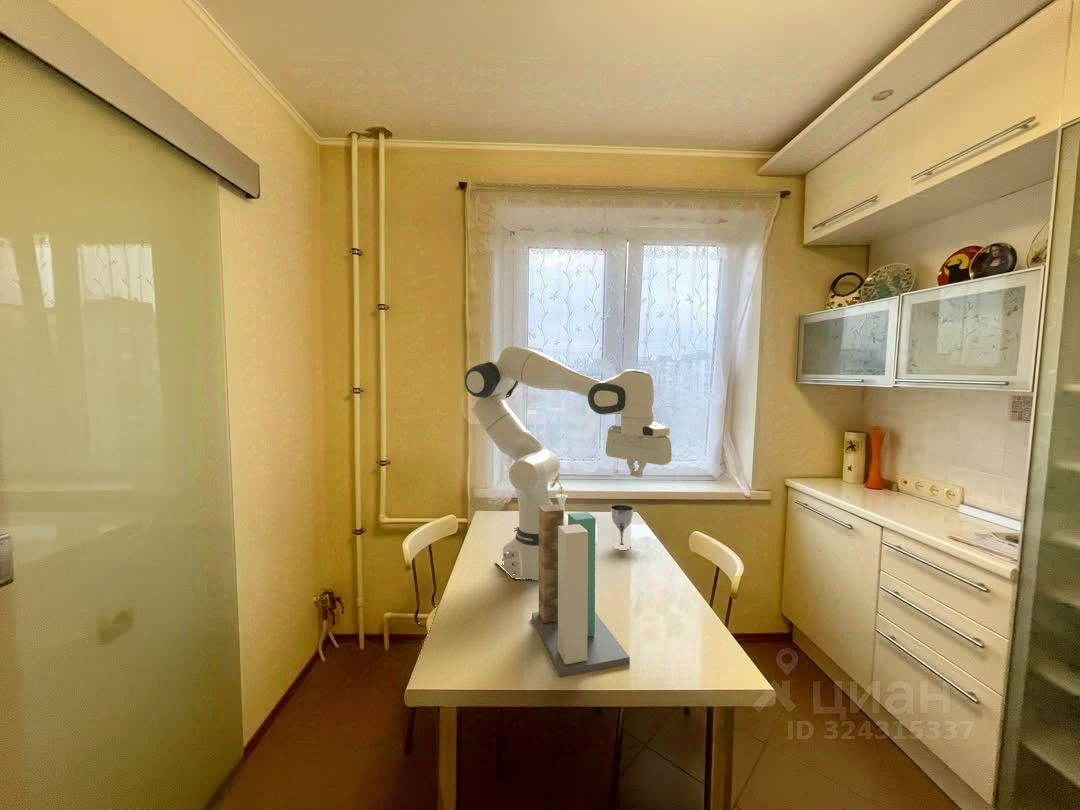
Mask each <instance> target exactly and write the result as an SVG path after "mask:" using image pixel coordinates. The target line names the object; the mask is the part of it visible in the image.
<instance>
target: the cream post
mask: <svg viewBox="0 0 1080 810" xmlns="http://www.w3.org/2000/svg"><path fill="white" fill-rule="evenodd" d="M587 630H588V531H587V530H586V529H585V528H584V527H582V526H581V525H580V524H575V525H564V526H558V652H559V654H560V655H561V657H562V659H563V661H564V663H565V665H566V664H571V663H576V662H582V661H587Z"/></svg>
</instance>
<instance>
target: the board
mask: <svg viewBox="0 0 1080 810" xmlns="http://www.w3.org/2000/svg"><path fill="white" fill-rule="evenodd" d="M531 619H533V620H532V621H533V624H534V626H535V628H536V630H537V632H538V635H539V636H540V638H541V641H542V643H543V644H544V647H545V649H546V651H547V653H548V656H549V657H550V660H551V662H552V664H553V666H554V668H555V670H556V673H557V675H558V677H559V678H563V677H569V676H574V675H579V674H583V673H589V672H594V671H600V670H605V669H609V668H614V667H620V666H625V665H630V664H631V662H630V661H631V657H630V655H629V654H628V653H627V651H625V648H623V646H622V645H621V644H620V642H619V641H618V640H617V639H616V637H615V636H614V634H613V633H612V632H611V631H610V629H609V628H608V627H607V625H606V624H605V622H603V621H602V619H601V617H600V616H599V615H598V614H597V612H595V635H594V636H588V637H587V661H582V662H576V663H571V664H566V665H565V663H564V661H563V659H562V657H561V655H560V654H559V652H558V621H557V622H551V623H544V622H543V621H542V619H541V617H540V615H539V611H537V612H536V611H535V612H532V613H531Z"/></svg>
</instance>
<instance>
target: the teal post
mask: <svg viewBox="0 0 1080 810" xmlns="http://www.w3.org/2000/svg"><path fill="white" fill-rule="evenodd" d="M567 516H568V525H575V524H580V525H581V526H582V527H584V528H585V529H586V530H587V531H588V630H587V637H588V636H594V635H595V613H596V521H597V520H596V516H593V515H592V514H591V513H590V512H588V511H584V512H572V513H571V512H569V513H567Z"/></svg>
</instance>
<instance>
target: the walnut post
mask: <svg viewBox="0 0 1080 810" xmlns="http://www.w3.org/2000/svg"><path fill="white" fill-rule="evenodd" d="M564 511H565V509H564V510H563V509H562V508H561V507H559V504H553V505H546V506H539V580H538V612H539V615H540V617H541V619H542V621H543V622H544V623H551V622H557V621H558V526H564Z"/></svg>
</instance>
